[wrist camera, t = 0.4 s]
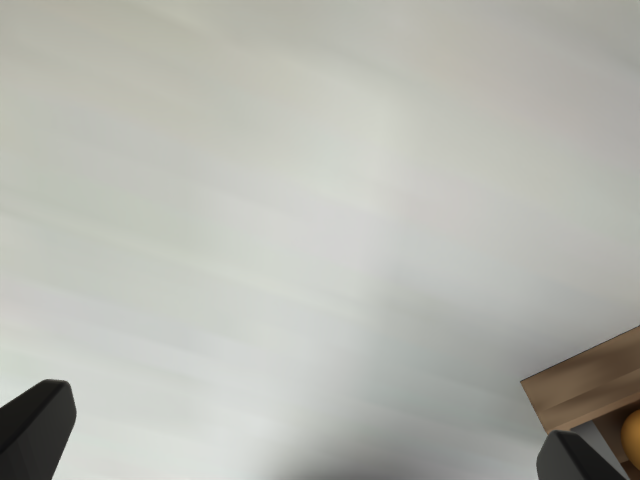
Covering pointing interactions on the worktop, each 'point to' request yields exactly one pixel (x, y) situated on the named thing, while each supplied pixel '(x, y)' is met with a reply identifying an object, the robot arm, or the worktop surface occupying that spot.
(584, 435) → the plunger
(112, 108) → the worktop surface
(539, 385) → the tray
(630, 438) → the ball
